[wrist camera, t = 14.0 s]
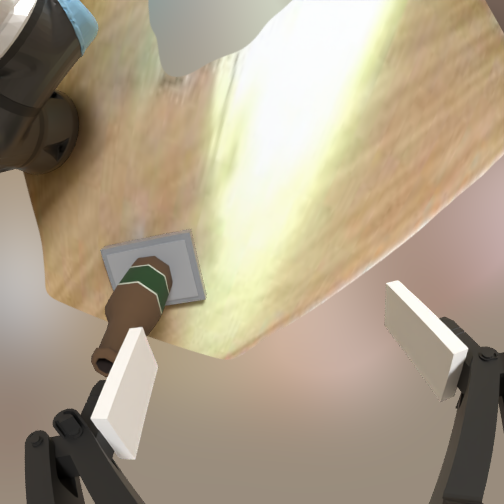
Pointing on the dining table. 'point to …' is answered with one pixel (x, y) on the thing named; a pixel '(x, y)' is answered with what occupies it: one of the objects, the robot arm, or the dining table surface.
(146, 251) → the slate stand
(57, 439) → the robot arm
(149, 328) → the beer bottle
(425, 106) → the dining table surface
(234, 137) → the dining table surface
